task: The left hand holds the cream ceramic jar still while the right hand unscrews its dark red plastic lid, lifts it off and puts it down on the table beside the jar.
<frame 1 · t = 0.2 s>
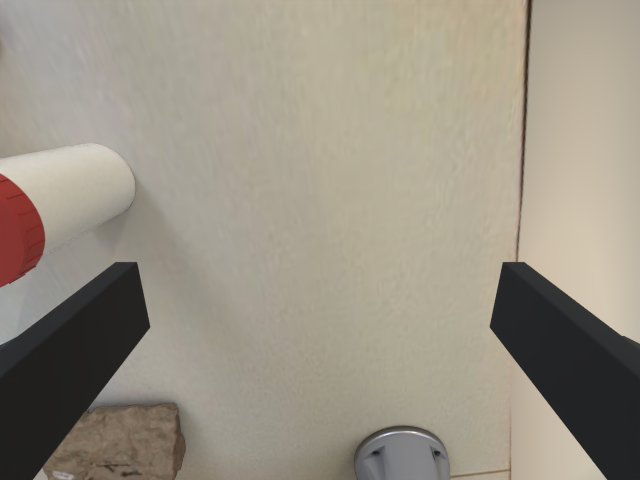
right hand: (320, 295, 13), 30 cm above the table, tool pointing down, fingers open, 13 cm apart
jar: (98, 181, 41), on the table
stone: (121, 427, 56), on the table
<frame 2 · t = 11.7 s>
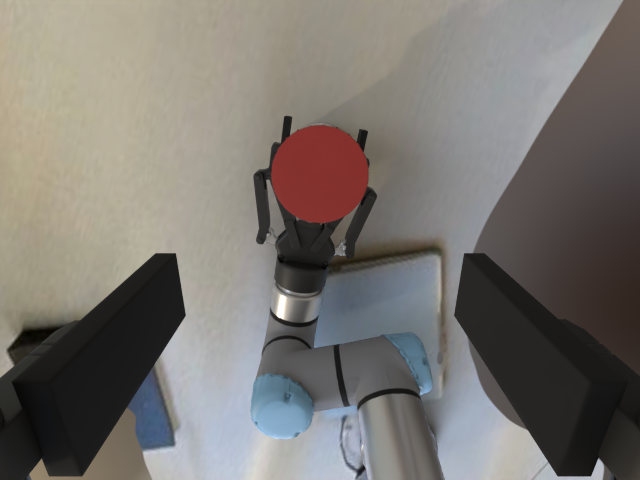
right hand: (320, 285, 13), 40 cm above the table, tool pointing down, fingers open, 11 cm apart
left hand: (326, 123, 43), fingers closed on jar, 9 cm apart
lid: (319, 176, 35), point 17 cm above the table, screwed on, not yet turned
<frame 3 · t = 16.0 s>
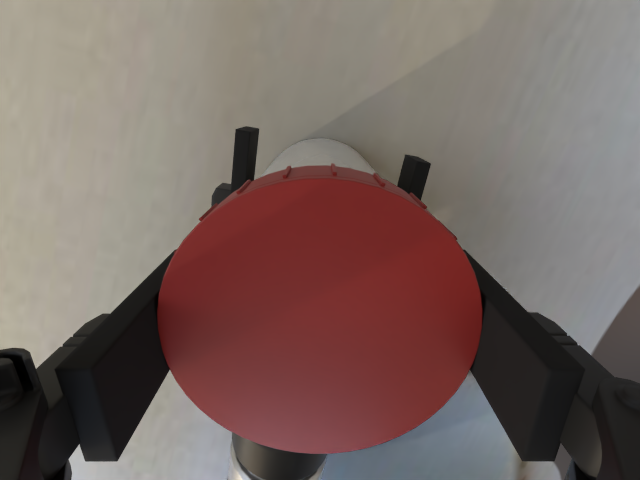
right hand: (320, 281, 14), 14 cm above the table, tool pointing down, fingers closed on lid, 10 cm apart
jar: (319, 197, 27), on the table, touching left hand
lid: (319, 331, 11), point 17 cm above the table, screwed on, not yet turned, touching right hand
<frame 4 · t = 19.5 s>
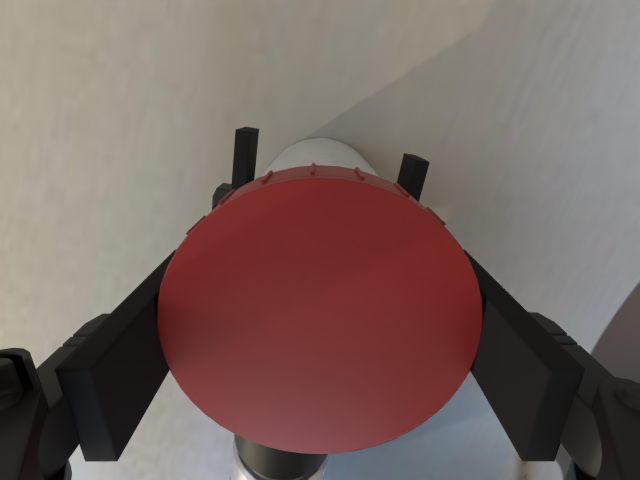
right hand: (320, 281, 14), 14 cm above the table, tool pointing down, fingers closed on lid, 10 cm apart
jar: (319, 196, 27), on the table, touching left hand
lid: (319, 331, 11), point 17 cm above the table, turned 116° so far, risen 0.2 cm, still on its thread, touching right hand
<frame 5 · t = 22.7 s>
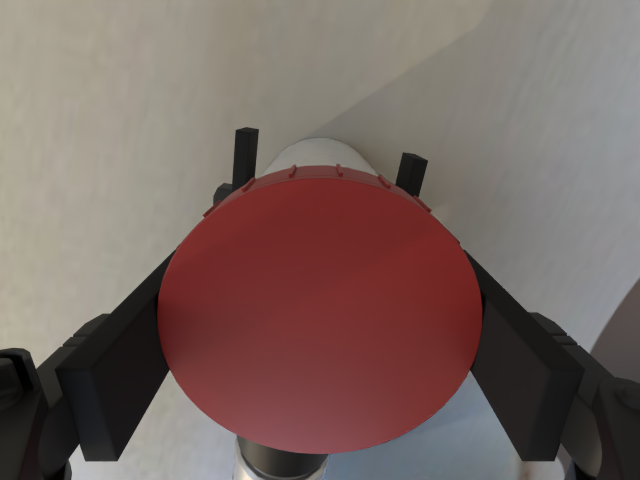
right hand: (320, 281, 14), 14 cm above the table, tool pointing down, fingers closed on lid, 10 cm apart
jar: (319, 196, 27), on the table, touching left hand
lid: (319, 331, 11), point 17 cm above the table, turned 232° so far, risen 0.4 cm, still on its thread, touching right hand
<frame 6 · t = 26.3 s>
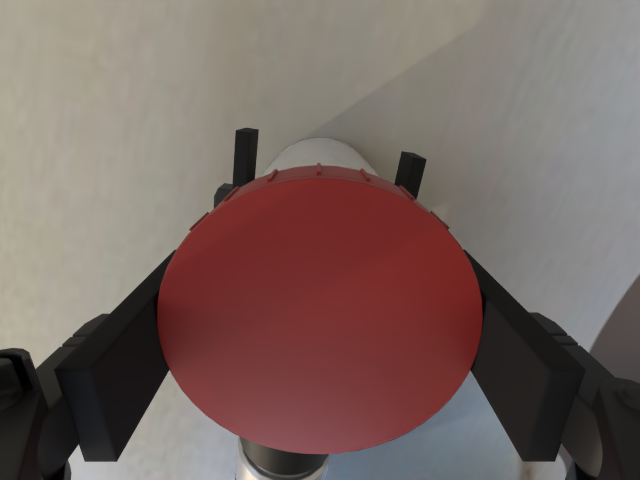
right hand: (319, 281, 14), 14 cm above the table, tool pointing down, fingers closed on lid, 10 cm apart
jar: (319, 195, 27), on the table, touching left hand
lid: (319, 332, 11), point 18 cm above the table, turned 348° so far, risen 0.6 cm, still on its thread, touching right hand
when the right hand's fingers open (0 cm above the table, at t = 37.6 s): lid drops 2 cm, point 2 cm above the table.
when the left hand's fingers open (6 cm above the table, at t = 38.7 s): jar stays where it is, on the table.
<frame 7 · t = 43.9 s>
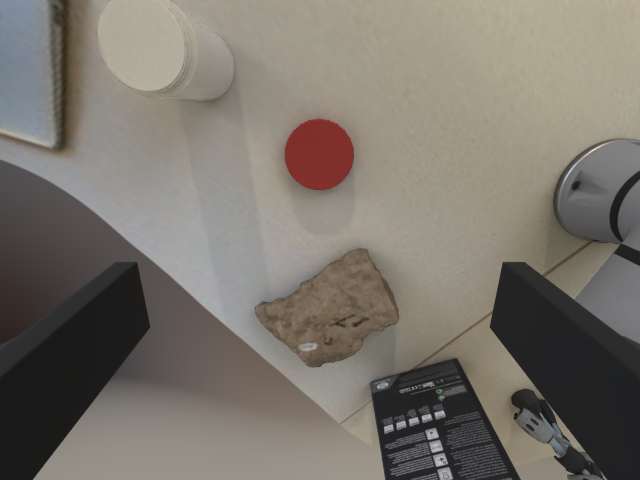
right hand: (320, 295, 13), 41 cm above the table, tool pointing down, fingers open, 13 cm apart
jar: (201, 65, 47), on the table
robot: (529, 401, 67), on the table
stone: (329, 301, 60), on the table
graphics card box: (414, 379, 66), on the table
lid: (319, 155, 49), point 2 cm above the table, off its thread
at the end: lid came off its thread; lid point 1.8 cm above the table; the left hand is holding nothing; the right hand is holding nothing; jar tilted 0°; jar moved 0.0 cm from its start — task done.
